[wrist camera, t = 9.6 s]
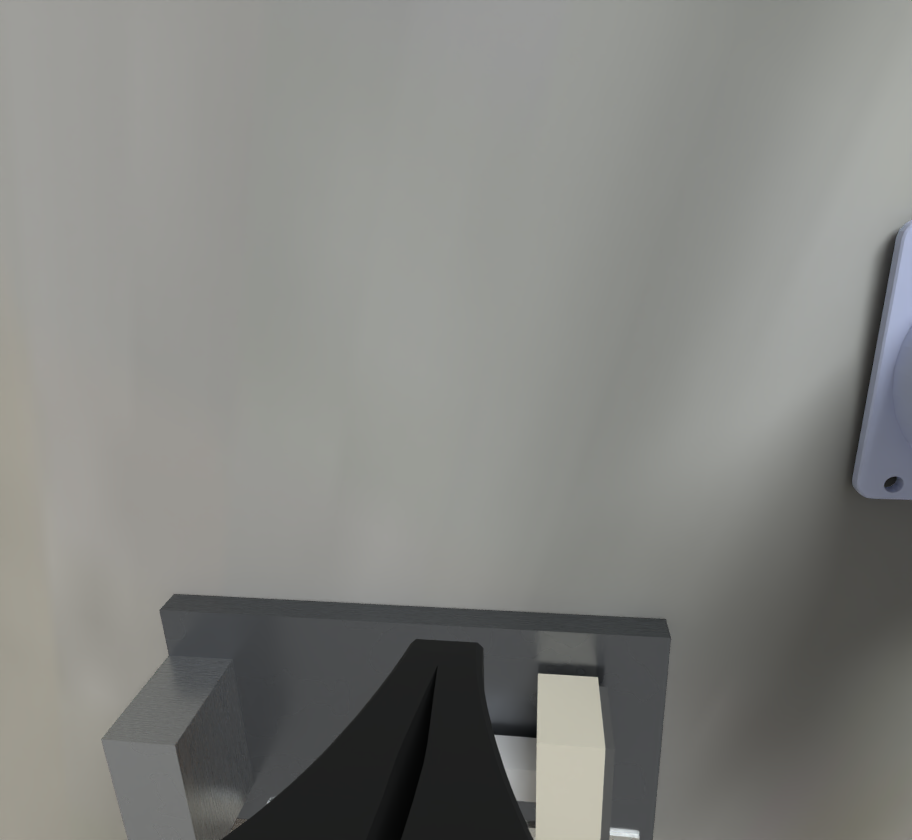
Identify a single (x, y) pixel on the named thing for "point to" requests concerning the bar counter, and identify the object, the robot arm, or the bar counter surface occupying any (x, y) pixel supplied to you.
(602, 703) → the cream and grey block
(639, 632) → the plate
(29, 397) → the bar counter surface
